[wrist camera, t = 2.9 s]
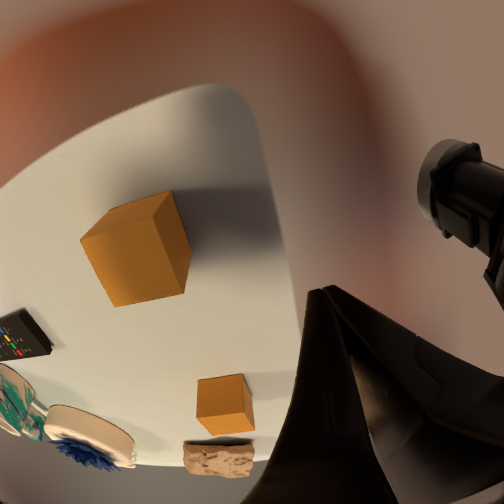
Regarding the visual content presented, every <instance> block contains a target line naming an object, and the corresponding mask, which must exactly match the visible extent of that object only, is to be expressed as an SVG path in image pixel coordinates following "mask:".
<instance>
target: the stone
mask: <svg viewBox="0 0 504 504" xmlns="http://www.w3.org/2000/svg"><path fill="white" fill-rule="evenodd" d="M183 450H184V458H183V460H184V465H185V467H186V468H187V470H188V471H189V472H190V473H192V474H197V475H221V476H223V477H226V478H239V477H243V476H249V475H250V470H251V469H252V468H253V460H252V458H253V457H254V454H255V453H254V451H255V450H254V447H253V446H252V445H250V444H246V445H243V446H238V445H237V446H231V447H227V446H222V445H183Z"/></svg>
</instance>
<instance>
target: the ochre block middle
mask: <svg viewBox="0 0 504 504" xmlns="http://www.w3.org/2000/svg"><path fill="white" fill-rule="evenodd" d="M196 418H197V419H198V421H199V422H200V423H201V424H202V425H203V426H204V427H205V428H206V429H207V430H208V431H209V432H210V434H211V435H223V434H232V433H240V432H248V431H254V430H255V424H254V415H253V406H252V396H251V394H250V392H249V389H248V387H247V385H246V383H245V381H244V379H243V376H242V374H238V375H232V376H226V377H219V378H213V379H206V380H198V389H197V412H196Z"/></svg>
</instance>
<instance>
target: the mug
mask: <svg viewBox="0 0 504 504" xmlns="http://www.w3.org/2000/svg"><path fill="white" fill-rule="evenodd" d="M33 397H34V390H33V389H32V388H31V387H30V385H29V384H28V383H27V381H25V380H24V379H23V378H22V377H20V376H19V375H18V374H17V373H16V372H15V371H13V370H11V369H9V368H8V367H6V366H4V365H3V364H0V427H1V428H3V429H5V430H6V431H8V432H9V433H11V434H14V435H17V436H21V433H22V432H24V433H25V434H26V435H28V436H29V437H30V438H32V439H34V440H38V441H41V439H42V435H43V432H44V428H43V426H44V423H45V420H46V417H45V416H44V415H43V414H42V413H41V412H39V411H38V410H37V409H36V408H35V407H33V406H32V405H31V402H32V399H33ZM27 416H28V417H29V418H30V419H31V420H32V421H31V424H30V425H29V424H28V423H26V422H25V420H26V417H27Z"/></svg>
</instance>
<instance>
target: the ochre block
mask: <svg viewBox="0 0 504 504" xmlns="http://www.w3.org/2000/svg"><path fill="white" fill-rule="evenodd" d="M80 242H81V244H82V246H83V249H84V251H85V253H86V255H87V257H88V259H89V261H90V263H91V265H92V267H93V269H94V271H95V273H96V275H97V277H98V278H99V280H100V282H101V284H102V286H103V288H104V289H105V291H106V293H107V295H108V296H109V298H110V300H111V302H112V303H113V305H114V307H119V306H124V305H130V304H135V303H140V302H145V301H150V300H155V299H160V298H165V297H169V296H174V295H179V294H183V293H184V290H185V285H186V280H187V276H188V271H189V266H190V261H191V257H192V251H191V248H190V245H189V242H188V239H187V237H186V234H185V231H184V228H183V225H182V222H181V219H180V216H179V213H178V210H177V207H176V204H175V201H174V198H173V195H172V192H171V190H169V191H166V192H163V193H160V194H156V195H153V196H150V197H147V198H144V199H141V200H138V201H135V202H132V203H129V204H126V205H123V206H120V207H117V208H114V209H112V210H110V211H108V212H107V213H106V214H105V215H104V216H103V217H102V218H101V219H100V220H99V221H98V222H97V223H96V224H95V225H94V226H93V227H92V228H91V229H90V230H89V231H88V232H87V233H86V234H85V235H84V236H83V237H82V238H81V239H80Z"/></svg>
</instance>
